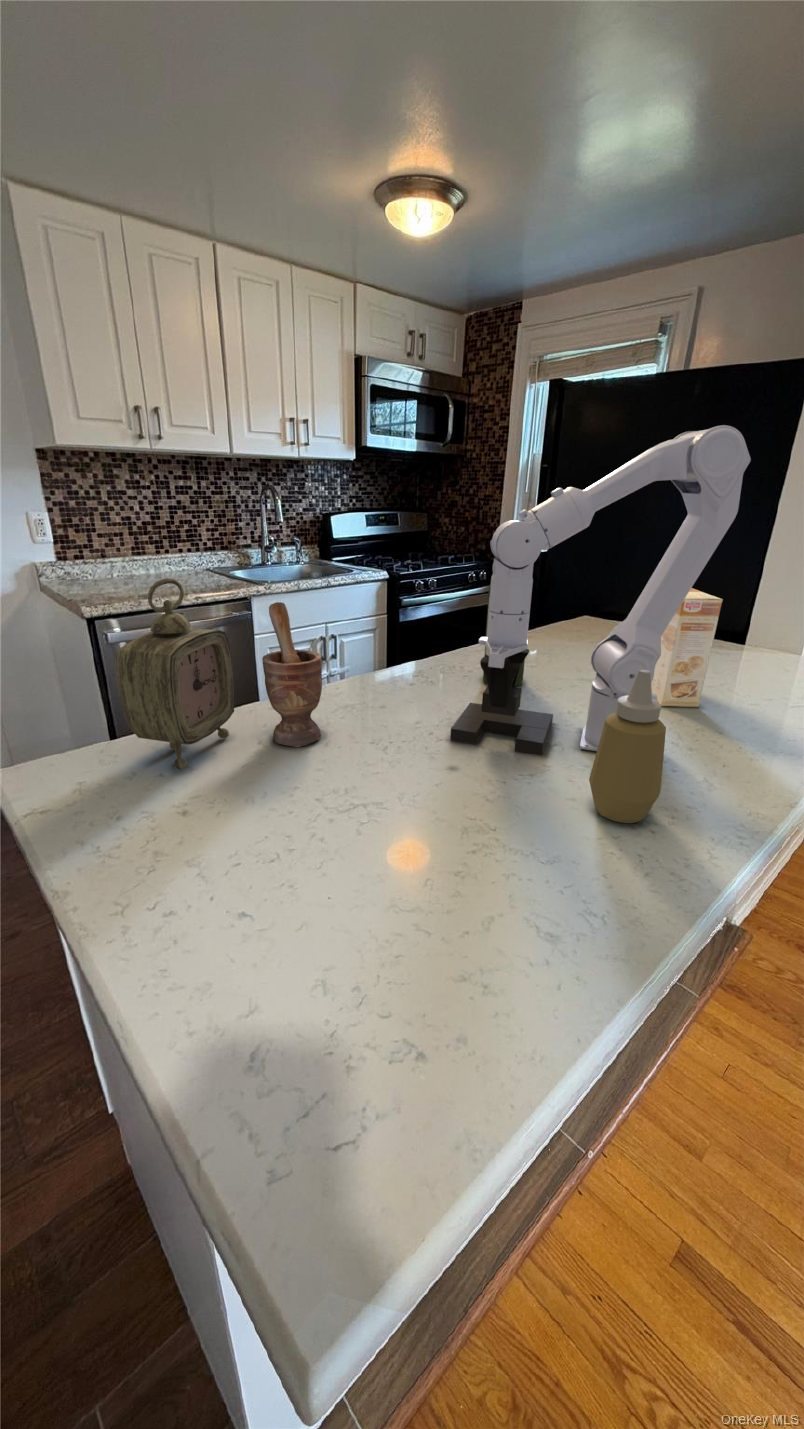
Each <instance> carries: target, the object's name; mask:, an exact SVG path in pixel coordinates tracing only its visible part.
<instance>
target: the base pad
mask: <svg viewBox="0 0 804 1429" xmlns="http://www.w3.org/2000/svg"><path fill="white" fill-rule="evenodd" d="M553 720H554V714H553V713H548V712H540V711H533V710H527V709H526V710H525V709H520V708H519V709H518V711H517V713H516V715H515V716H508V715H501V714H494V713H487V712H482V703H475V702H469V703H468V705H467V706H466V708H465V709H464V710H463V712H462V713H461V714H460V715H459V717H458V718H457V720H456V721H455V722H454V723H453V725H452V726H451V728H450V739H449V740H450V741H451V742H452V741H453V742H459V743H463V744H464V743H465V744H471V745H476V744H477V742H478V741H479V739H480V738H481V736H482V734H483V732H487V733H493V734H500V735H506V736H511V737H512V736H513V737H516V738H515V744H514V751H515V752H521V753H526V754H533V755H538V756H542V755H543V754H544V750H545V747H546V744H547V742H548V738H549V735H550V731H551V729H552V727H553Z"/></svg>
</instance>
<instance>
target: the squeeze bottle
mask: <svg viewBox="0 0 804 1429" xmlns="http://www.w3.org/2000/svg"><path fill="white" fill-rule="evenodd" d="M661 710H662V706H661V704H660V703H659V702H658V701H656V700H654V699H652V690H651V672H650V671H649V670H639V672H638V675H637V677H636V679H635V682H634V684H633V686H632V689H631V691H630V693H629V695H626V696H622V697H619V698H618V700H617V705H616V711H615V712H616V713H613V714H611V715H609V716H608V717H607V718H606V720H605V724H604V727H603V731H602V734H601V738H600V742H599V745H598V749H597V751H596V753H595V757H594V760H593V764H592V767H591V771H590V774H589V778H588V781H589V786H590V790H591V795H592V796H591V797H592V800H593V804H594V808H595V811H596V812H598V814H600V815H601V816H602V817H604V818H606V819H608V820H611V821H613V822H618V823H624V824H632V823H633V824H634V823H639V822H641V821H642V820H644V819H645V818H646V817H647V815H648V814H649V812H650V810H651V809H652V807H653V806H654V804H655V803H656V802H657V801H658V799H659V797H660V794H661V790H662V780H663V779H662V778H663V768H664V756H665V745H666V744H665V743H666V732H667V731H666V730H667V727H666V725H665V724H664V723H663V722H662V720H661V719H659V718H660V715H661Z"/></svg>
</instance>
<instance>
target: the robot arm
mask: <svg viewBox="0 0 804 1429" xmlns="http://www.w3.org/2000/svg"><path fill="white" fill-rule="evenodd" d="M751 460H752V458H751V455H750V452H749V450H748V447H747V443H746V440H745V438H744V435H743V434H742V432H741V431H740V430H738V429H737V428H736V427H734V426H731V425H726V424H722V425H716V426H713V427H710V428H708V429H707V428H706V429H703V430H688V431H685V432H682V433H680V434H678V435H677V436H675V437H674V438H673V439H668V440H666V441H665V440H664V441H663V442H660V443H658V444H656V445H654V446H653V447H650V448H648V449H647V450H645V451H644V452H642V453H640V454H639V455H637V456H636V457H634V458H632V459H631V460H629V461H628V462H625V463H624V464H623V465H621V466H620V467H618V468H617V469H615V470H613V471H612V472H610V473H609V474H607V475H605V476H604V477H602V478H601V479H599V480H597V481H596V482H594V483H592V484H591V485H589V486H588V487H586V488H585V489H580V488H577V487H575V486H574V487H573V486H568V487H566V488H565V489H563V488H562V487H557V488H556V489H554V490H552V491H551V492H550V495H551V497H549V498H548V499H546V500H545V501H543V502H541V503H539V504H537V505H535V506H534V507H532V508H531V509H529V510H527V509H526V508H524V509H522V510H520V511H519V512H518V516H519V520H515V519H514V520H507V521H505V522H503V523H502V524H500V525H499V526H498V527H497V528H496V530H495V531H494V532H493V536H492V539H490V542H489V545H490V550H491V553H492V554H493V556H494V558H493V563H492V575H491V577H490V583H491V589H490V603H489V619H488V633H487V637H486V636H480V638H478V645H483V646H484V647H485V646H486V648H487V650H488V652H489V658H488V657H484V656H483V657H482V658H481V659H480V661H479V662H480V668H481V670H482V671H483V672H484V674H485V677H486V680H487V683H486V684H487V686H488V689H489V696H490V702H491V706H496V707H503V708H505V706H506V704H507V702H508V699H509V695H510V690H511V687H515V685H516V681H517V678H518V674H519V671H520V668H521V666H522V664H523V662H524V660H525V661H526V658H527V656H528V655H529V654H530V649H528V648H529V641H528V637H529V626H530V625H529V624H530V618H531V616H530V615H531V604H532V595H533V594H532V593H533V586H534V585H533V584H534V578H533V574H534V565H535V564H534V563H535V562H536V561H537V559H538V558H539V557H540V554H541V552H542V551H548V550H550V549H552V548H553V547H555V546H556V545H559V544H561V543H562V542H564V541H566V540H568V539H569V538H571V537H572V536H575V535H576V534H579V532H582V531H583V530H586V529H587V528H588V527H590V525H591V523H592V520H593V517H594V516H595V513H596V512H598V511H600V510H601V509H603V508H605V507H607V506H610V505H611V504H612V503H615V502H617V501H618V500H621V499H622V498H625V497H626V496H628V495H630V494H632V493H635V492H636V491H638V490H640V489H642V488H643V487H645V486H648V485H649V484H652V483H653V482H657V481H660V482H661V481H671V483H673V485H674V486H675V487H676V489H677V490H678V491H679V492H680V494H681V497H682V500H683V502H684V505H685V508H686V511H687V515H686V517H685V519H684V520H683V522H682V524H681V526H680V527H679V529H678V530H677V532H676V534H675V536H674V537H673V539H672V541H671V543H670V544H669V546H668V547H667V549H666V550H665V552H664V554H663V556H662V558H661V560H660V561H659V562H658V564H657V566H656V567H655V569H654V571H653V572H652V574H651V576H650V577H649V579H648V581H647V583H646V585H645V586H644V588H643V590H641V591H642V592H641V593H640V595H639V596H638V598H637V600H636V601H635V603H634V605H633V607H632V608H631V610H630V612H629V613H628V615H627V617H626V618H625V619H624V620H623V621H621V622H619V623H618V624H617V625H615V626H614V627H613V628H612V629H611V631H610V633H609V634H608V635H607V637H605V638H604V639H603V640H601V641H599V643H598V644H596V646H595V647H594V648H593V650H592V652H591V655H590V665H591V667H592V669H593V670H594V672H595V673H596V674H595V677H594V679H593V680H592V683H591V689H590V696H589V703H588V709H587V715H586V716H587V717H586V724H585V726H584V727H583V728H582V734H581V738H580V742H579V748H580V749H581V750H587V751H593V752H597V749H598V745H599V742H600V738H601V734H602V731H603V727H604V724H605V720H606V718H607V717H608V716H609V715H611V714H613V713H616V712H615V711H616V705H617V700H618V698H619V697H622V696H626V695H629V693H630V691H631V689H632V686H633V684H634V682H635V679H636V677H637V675H638V672H639V670H649V671H650V672H651V682H652V680H653V677H654V669H655V665H656V663H657V661H658V659H659V658H660V656H661V636H662V634H663V633H664V631H665V629H666V628H667V626H668V625H669V623H670V621H671V620H672V618H673V617H674V615H675V613H676V612H677V610H678V609H679V607H680V605H681V604H682V602H683V601H684V599H685V597H686V596H687V594H688V593H689V591H690V589H691V588H693V586H694V585H695V583H696V582H697V580H698V578H699V577H700V575H701V573H702V572H703V570H704V569H705V567H706V566H707V565H708V562H709V561H710V559H711V558H712V556H713V554H714V553H715V551H716V550H717V548H718V546H719V545H720V544H721V541H722V540H723V538H724V536H725V535H726V534H727V532H728V530H729V529H730V527H731V525H732V524H733V522H734V521H735V519H736V516H737V514H738V512H739V507H740V500H741V491H742V485H743V479H744V478H743V477H744V473H745V471H746V470H747V468H748V466H749V464H750V463H751ZM524 663H525V662H524ZM483 672H482V673H483ZM652 699H654V700H656V701H657V694H654V693H652Z"/></svg>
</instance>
